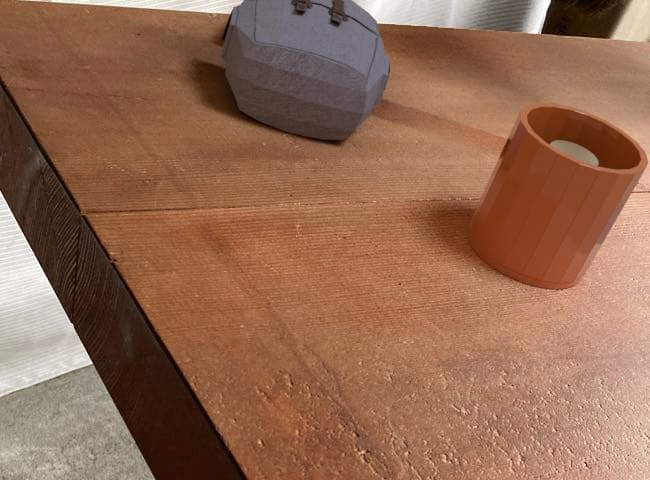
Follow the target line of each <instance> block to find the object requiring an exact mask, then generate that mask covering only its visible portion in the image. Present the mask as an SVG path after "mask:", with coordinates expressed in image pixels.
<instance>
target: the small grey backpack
mask: <svg viewBox="0 0 650 480" xmlns="http://www.w3.org/2000/svg"><path fill="white" fill-rule="evenodd" d="M220 42H223V44H222V49H221V54H220V55H221V56H220V57H221V59H222V60H223V61H224V62H225V71H224V73H225V74H224V75H225V77H226V80H227V82H228V84H229V86H230V89H231V92H232V93H233V95H234V99H235V102H236V104H237V108H238V110H239V111H240V112H242V113H243V114H245V115H247V116H249V117H251V118H252V119H254V120H256V121H257V122H259V123H262V124H265V125H268V126H269V127H273V128H276V129H277V130H281V131H283V132H286V133H289V134H292V135H293V134H294V135H298V136H303V137H307V138H313V139H318V140H325V141H326V140H327V141H328V140H329V141H344V140H345V139H347V138H348V137H349V136H350V135H351V134H353V133H354V132H355V131H356V130H357V129H358V128H359V127H360V126H361V125H362V124H363V123H364V122H365V121H366V120H367V119H369V118H370V115H371V113H372V111H373V109H374V108H375V107H378V106H380V105H381V102H382V98H383V95H384V92H385V90H386V88H387V84H388V80H389V77H390V73H391V59H390V56H389V55H387V54H386V53H385V47H384V41H383V38H382V37H381V34H380V30H379V25H378V21H377V20H376V19H375V17H373V16H372V15H371V14H370V12H368V11H367V10H365V9H364V8H363V7H361V6H360V5H359V4H358V3H356V2H355V1H354V0H242V1H241V3H240V4H238V5H236V6H233V7H232V10H231V12H230V14H229V17H228V18H227V22H226V25H225V28H224V31H223V34H222V37H221V40H220Z"/></svg>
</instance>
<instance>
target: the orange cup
mask: <svg viewBox="0 0 650 480" xmlns="http://www.w3.org/2000/svg"><path fill="white" fill-rule="evenodd" d="M556 140H562V141H568V142H572V143H575V144H577V145H580V146H582V147H584V148H585V149H587V150H589V151H590V152H591V153H593V154H594V155H595V156H596V158H597V159H598V162H599V164H598V166H595V165H592V164H589V163H586V162H582V161H580V160H578V159H575V158H573V157H571V156H569V155H567V154H565V153H563V152H560V151H559V150H557V149H556V148H554V147H552V146H551V145H549V144H550V143H551V142H552V141H556ZM648 165H649V159H648V155H647V152H646V151H645V150H644V148H642V146H641V145H640V144H639V142H638V141H636V140H635V139H634V137H632V136H631V135H629V134H628V133H627V132H626V131H624V130H623V129H621V128H619V127H617V126H616V125H615V124H613V123H612V122H609V121H607V120H606V119H603V118H601V117H599V116H597V115H594V114H593V113H590V112H587V111H584V110H581V109H578V108H576V107H572V106H569V105H564V104H558V103H555V102H554V103H553V102H534V103H530V104H527V105H525V106H524V107H523V108H522V109H521V110H520V111H519V113H518V115H517V117H516V120H515V122H514V124H513V126H512V129H511V130H510V133H509V135H508V137H507V139H506V141H505V144H504V146H503V147H502V150H501V152H500V154H499V157H498V159H497V160H496V163H495V165H494V168H493V169H492V172H491V175H490V177H489V179H488V181H487V183H486V186H485V188H484V189H483V193H482V194H481V196H480V198H479V201H478V203H477V205H476V207H475V209H474V212H473V214H472V217H471V218H470V221H469V224H468V226H467V230H466V237H467V240H468V243H469V244H470V247H471V248H472V250H473V251H474V252H475V253H476V255H478V256H479V258H481V260H483V261H484V262H485V263H486V264H488V265H489V266H490V267H491V268H493V269H495V270H496V271H498V272H500V273H501V274H503V275H504V276H507V277H509V278H511V279H513V280H516V281H518V282H520V283H523V284H526V285H528V286H529V285H530V286H533V287H536V288H541V289H549V290H564V289H569V288H572V287H574V286H576V285H578V284H579V283H580V282H581V281H582V280H583V278H584V277H585V275H586V274H587V272H588V270H589V268H590V266H591V264H592V263H593V261H594V259H595V257H596V255H597V254H598V253H599V251H600V249H601V247H602V245H603V244H604V242H605V240H606V238H607V236H608V235H609V233H610V232H611V230H612V229H613V226H614V224H615V223H616V221H617V219H618V218H619V216H620V214H621V212H622V210H623V208H624V207H625V205H626V204H627V202H628V200H629V198H630V197H631V196H632V193H633V191H634V190H635V188H636V187H637V185H638V182H639V181H640V179H641V177H642V176H643V174H644V173H645V171H646V168H647V166H648Z"/></svg>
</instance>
